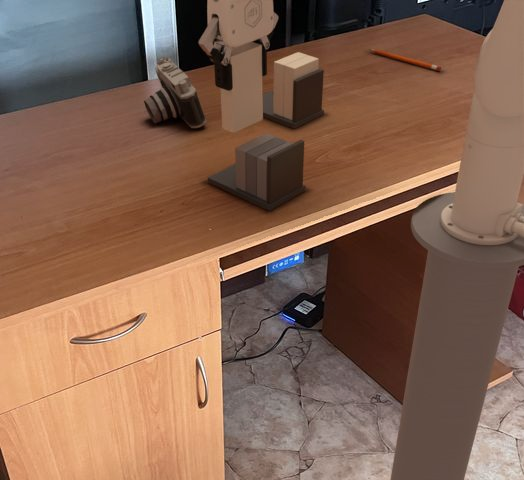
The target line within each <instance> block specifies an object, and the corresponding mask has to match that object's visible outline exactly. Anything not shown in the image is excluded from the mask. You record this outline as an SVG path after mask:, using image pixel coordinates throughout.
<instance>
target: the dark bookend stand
mask: <svg viewBox="0 0 524 480" xmlns="http://www.w3.org/2000/svg"><path fill="white" fill-rule="evenodd" d="M319 61H320V58H318V57H315V56H312V55H308V54H305V53H302V52H300V51H298V52H295V53H292V54H290V55H288V56H284V57H282V58H280V59H278V60H274V62H273V91H272V90H270V91H267V92H265V93H263V119H264V118H265V119H267V120H269V121H273V122H275V123H277V124H280V125H282V126H285V127H287V128H289V129H290V128H291V129H293V130H295V129H297V128H299V127H301V126H303V125H305V124H308V123H309V122H311V121H314V120H316V119H318V118H320V117H322V116H324V115H325V109H323V91H324V74H325V73H324V72H325V70H324V69H323V68H319V64H320V63H319Z"/></svg>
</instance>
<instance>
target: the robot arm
mask: <svg viewBox="0 0 524 480" xmlns="http://www.w3.org/2000/svg"><path fill="white" fill-rule="evenodd" d="M206 8H207V10H206V13H207V15H206V16H207V18H206V19H207V26H206V28H205V30H204V32H203V33H202V35H201V36H200V38H199V39H198V45H199V47H200V48H201V49H202V50H203V52H204V53H205V55H206V56H207V57H208V58H209V60H210V62H212V63H213V67H214V69H213V70H214V84H215V85H214V86H215V87H216V88H219V89H220V88H222V89H225V90H228V91H230V90H232V88H233V80H232V64H229V59H230V56H231V52H232V49H233V48H235V47H239V46H241V45H244V44H247V43H249V42H253V43H257V44H260V45H262V77H265V76H267V75H268V49H269V48H270V46H271V44H270V40H271V39H272V37H273V35H274V32H275V31H274V30H275V28H276V25H277V23H278V21H279V15H278V14H277V13H276V12H275V11H274V0H207V5H206ZM222 46H223V51H222V52H223V54H222V53H221V50H222ZM467 119H468V121H467V125H466V130H465V135H464V140H463V145H462V153H461V158H460V162H459V167H458V173H457V178H456V184H455V190H454V192H455V195H454V201H453V203H452V204H450V205H448V206H447V207H445V208H444V209H443V211H442V213H441V218H440V222H441V226H442V227H443V229H444V230H445V231H446V232H447V233H448V234H450V235H451V236H453V237H455V238H457V239H459V240H461V241H464V242H467V243H471V244H477V245H489V246H490V245H500V244H505V243H508V242H510V241H512V240H514V239H515V238H516V237H518V235H520V236H523V237H524V216H523V214H521V210H522V206H523V204H524V203H522V204H520V203H521V202H520V203H518V202H519V201H518V200H519V195H520V191H521V188H522V183H523V178H524V0H503V2H502V5H501V7H500V10H499V12H498V14H497V17H496V20H495V21H494V25H493V27H492V29H491V30H490V31H489V32H488V34H487V35H486V36H485V38H484V40H483V42H482V45H481V46H480V50H479V55H478V58H477V62H476V66H475V70H474V74H473V92H472V98H471V104H470V108H469V114H468V118H467Z"/></svg>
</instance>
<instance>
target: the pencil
mask: <svg viewBox="0 0 524 480" xmlns="http://www.w3.org/2000/svg"><path fill="white" fill-rule="evenodd" d="M368 50H369V51H370V52H372V53H373V54H375V55H376V54H377V55H380V56H384V57H388V58H390V59H394V60H398V61H401V62H404V63H405V62H406V63H409V64H412V65H417V66H419V67H423V68H427V69H431V70H433V71H438V72H440V71H442V70H441V69H442V67H441V66H439V65H435V64H432V63H427V62H425V61H421V60H417V59H414V58H410V57H406V56H402V55H399V54H394V53H392V52H388V51H384V50H380V49H376V48H369V49H368Z"/></svg>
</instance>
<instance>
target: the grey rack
mask: <svg viewBox="0 0 524 480" xmlns="http://www.w3.org/2000/svg"><path fill="white" fill-rule="evenodd" d="M234 150H235V151H234V152H235V156H234V157H235V158H234V159H235V163H234V164H232V165H230V166H228V167H226V168H224V169H222V170H220V171H218V172H216V173H214V174H212V175H209V176H208V177H207V183H208V184H209V185H212V186H215V187H217V188H219V189H221V190H223V191H225V192H227V193H229V194H231V195H234V196H235V197H238V198H241V199H242V200H245V201H247V202H249V203H251V204H253V205H255V206H258V207H260V208H262V209H264V210H266V211H268V212H270V211H273V210H274V209H276V208H277V207H279V206H281V205H283V204H284V203H286V202H288V201H290V200H291V199H294V198H295V197H297V196H299V195H301V194H302V193H304V192H305V191H306V185H305V184H304V164H305V163H304V162H305V161H304V160H305V140H303V139H300V140H299V139H298V140H297V141H295V142H294V143H292V142H291V141H287V140H285V139H282V138H280V137H277V136H275V135H273V134H270V133H268V132H267V133H264V134H262V135H259V136H258V137H255V138H253V139H252V140H249V141H247V142H245V143H243V144H241V145H239V146H236V147H235V149H234Z"/></svg>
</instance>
